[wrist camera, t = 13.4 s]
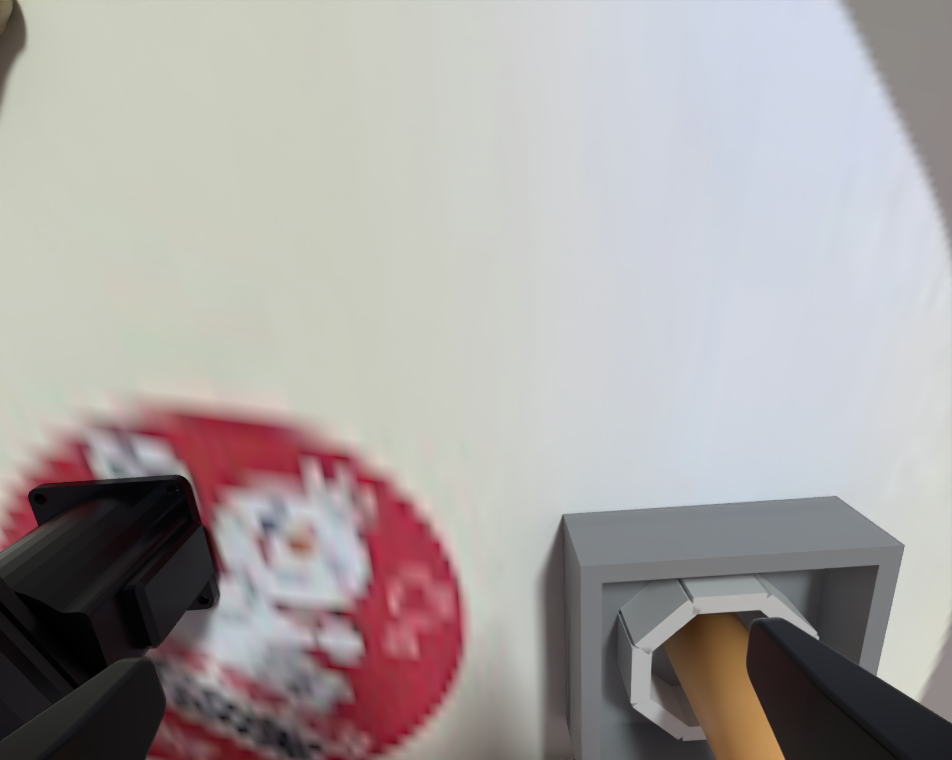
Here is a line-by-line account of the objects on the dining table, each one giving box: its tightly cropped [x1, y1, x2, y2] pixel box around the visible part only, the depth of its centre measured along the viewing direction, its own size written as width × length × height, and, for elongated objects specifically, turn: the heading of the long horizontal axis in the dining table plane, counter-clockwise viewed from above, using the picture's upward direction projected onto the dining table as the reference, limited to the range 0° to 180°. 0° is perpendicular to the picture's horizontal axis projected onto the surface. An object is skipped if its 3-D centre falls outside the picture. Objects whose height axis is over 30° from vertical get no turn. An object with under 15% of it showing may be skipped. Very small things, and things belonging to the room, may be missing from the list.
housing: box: [563, 496, 905, 760], centre depth 22 cm, size 12×12×4 cm
